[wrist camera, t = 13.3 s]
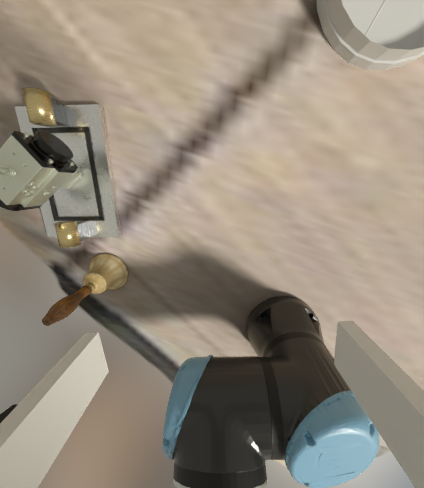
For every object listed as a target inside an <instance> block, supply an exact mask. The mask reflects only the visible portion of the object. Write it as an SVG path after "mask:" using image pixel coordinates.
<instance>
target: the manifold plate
mask: <svg viewBox="0 0 424 488" xmlns="http://www.w3.org/2000/svg"><path fill="white" fill-rule="evenodd" d="M22 92H23V96H24V101H25V105H26V106H15V111H16V115H17V118H18V122H19V126H20V130H21V133H25V132H26V133H28V134H29V135H33V136H34V135H35V134H36V133H37V131H38V130H45V131H47V132H50V133H51V134H53V135H55V136H56V137H58V138H59V139H60V140H62V141H63V142H64V143H65V144H66V145H67V146H68V147H69V148H70V150H71V151H72V153H73V158H72V159H71V160H72V161H73V162H75V163H76V164H77V165H78V166H79V170H78V171H77V172H78V173H79V172H81V173H82V177H81V178H80V179H79V180H78V181H77V182H76V183H75V184H74V185H73V186H72V187H71V188H70V189H69V188H68V189H67V188H61V189H60V190H57V191H56V192H55V193H54V194H53V195H52V196H51V197H50V198H49V199H48V200H47V201H46V202H45V203H44V204H43V205H42V206H41V207H40V209H41V213H42V217H43V220H44V224H45V228H46V232H47V236H48V237H57V238H58V242H59V246H60V247H62V248H67V247H74V246H78V245H80V244H81V241H82V240H85V239H87V238H89V237H119V236H121V235H122V230H121V224H120V217H119V210H118V203H117V196H116V189H115V182H114V175H113V168H112V161H111V154H110V147H109V141H108V134H107V127H106V120H105V113H104V107H102V106H101V105H99V104H90V105H64V104H62V103H60V102H58V101H56V100H54V99H52V98H51V95H50V93H48V92H46V91H44V90H40V89H36V88H29V87H26V88H22Z"/></svg>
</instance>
